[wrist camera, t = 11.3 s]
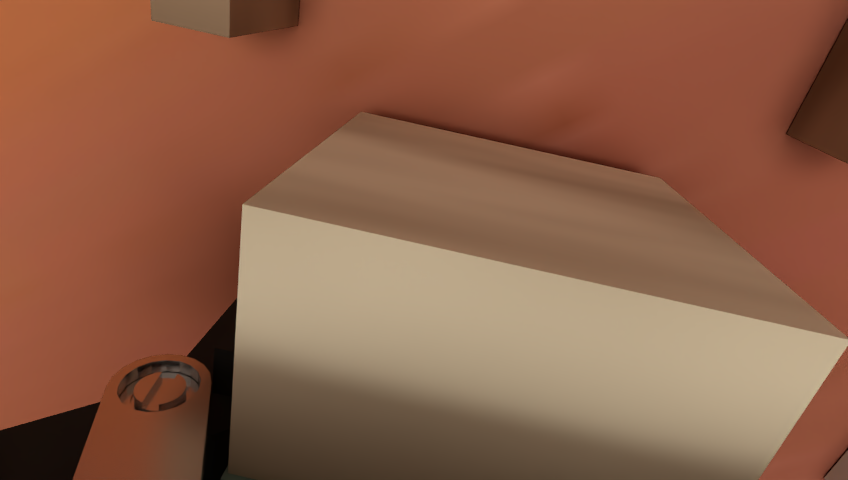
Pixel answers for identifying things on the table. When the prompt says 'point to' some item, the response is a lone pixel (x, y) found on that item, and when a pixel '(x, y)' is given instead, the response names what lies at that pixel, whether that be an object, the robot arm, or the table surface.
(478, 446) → the parcel
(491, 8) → the table surface
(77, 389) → the table surface
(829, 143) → the shelf bay
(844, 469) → the plate
